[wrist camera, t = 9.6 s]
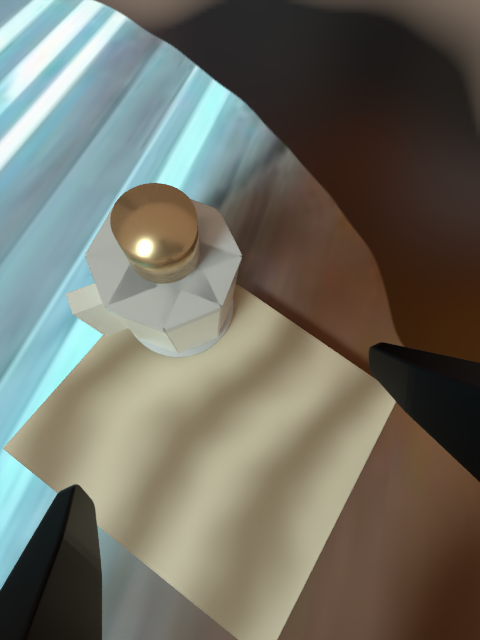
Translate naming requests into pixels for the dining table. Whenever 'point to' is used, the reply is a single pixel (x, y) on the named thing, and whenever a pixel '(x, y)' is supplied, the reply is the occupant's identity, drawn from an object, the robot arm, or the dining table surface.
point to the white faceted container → (163, 292)
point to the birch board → (215, 457)
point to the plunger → (157, 232)
